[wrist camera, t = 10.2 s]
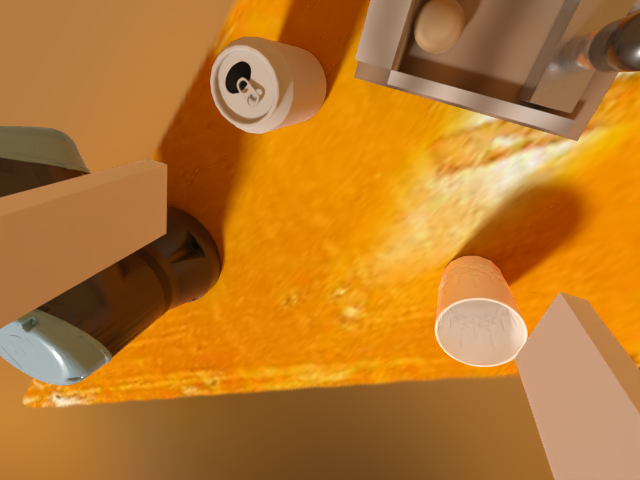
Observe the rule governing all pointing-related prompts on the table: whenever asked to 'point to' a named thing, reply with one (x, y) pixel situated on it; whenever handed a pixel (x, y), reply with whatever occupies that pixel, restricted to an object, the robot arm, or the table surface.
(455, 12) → the tan ball
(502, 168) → the table surface
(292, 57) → the can
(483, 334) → the white cup
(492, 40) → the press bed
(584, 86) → the ram
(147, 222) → the robot arm
